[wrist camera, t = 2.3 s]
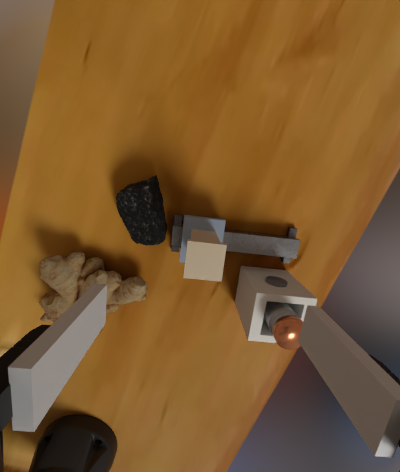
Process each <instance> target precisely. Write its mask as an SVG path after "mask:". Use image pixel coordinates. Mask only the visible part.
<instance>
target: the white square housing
mask: <svg viewBox="0 0 400 472" xmlns="http://www.w3.org/2000/svg"><path fill="white" fill-rule="evenodd" d="M267 301H271V302H281V303H288V304H289V305H290V306H291V307H292V309H293V310H294V311H295V312H296V314H297V315H298V316H299V317H300V319H301V320H302V321H304V317H305V313H306V309H307V305H310V306H316V303H317V298H316V297H315V296H314V295H313V294H312V293H311V292H309V291H308V290H307V289H306V288H305V287H304V286H303V285H302V284H301V283H300V282H299V281H297V280H296V279H295V278H294V277H293V276H292V275H291V274H290V273H289V272H288V271H286V270H279V269H269V268H260V267H250V266H241V268H240V274H239V280H238V286H237V292H236V298H235V305H236V307H237V310H238V313H239V316H240V319H241V322H242V325H243V328H244V331H245V333H246V336H247V339H248V341H260V342H271V343H277V342H276V340H275V338H274V336H273V335H272V333H271V331H270V329H269V327H268V325H267V323H266V321H265V319H264V313H265V308H266V303H267Z"/></svg>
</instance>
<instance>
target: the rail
mask: <svg viewBox="0 0 400 472" xmlns="http://www.w3.org/2000/svg"><path fill="white" fill-rule="evenodd" d="M182 217H183V215H176V214H175V218H174V225H173V231H172V242H171V245H172V251H174V252H179V246H181V243H182V233H183V224H182ZM296 233H297V229H296V228H290V227H288V231H287V236H282V235H273V234H264V233H255V232H246V231H237V230H228V229H224V236H223V243H226V244H227V248H226V251H231V252H241V253H250V254H259V255H269V256H278V257H282V260H281V262H282V263H288V264H290V261H291V258H297V253H298V249H299V244H300V240H299V239H297V238H296Z"/></svg>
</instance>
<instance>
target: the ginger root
mask: <svg viewBox="0 0 400 472" xmlns="http://www.w3.org/2000/svg"><path fill="white" fill-rule="evenodd" d="M104 270H105V268H104V262H103V260H102V259H100V258H98V257H93V258H90V259H87V260H85V255H84V253H82V252H74V253H71V254H70V255H68V256H67V257H64V256H62V255H56V256H54V257H47V258H45V259H43V260H41V262H40V272H41V275H40V278H41V279H42V280H43V281H45V282H46V283H47V284H48V285H49V286H50V287H51V289H53V290H52V292H49V293H46V294H45V296H44V297H42V299H41V301H40V302H39V304H40V305H41V306H42V308H43V309H44V311H45V312H46V313H44V315H43V316H42V317H41V318H40V319H41V321H53V322H55V321H56V320H57V319H58V318H59V317H60V316H61V315H62V314H63V313H64V312H65V311H66V310H68V309H69V308H70V307H71V306H72V305H73V304H74V303H75V302H76V301H77V300H78V299H79V298H80V297H81V296H82V295H83V294H84V293H85V292H86V291H87V290H88V289H89V288H90V287H91V286H92V285H93V284H94V283H98V284H107V299H106V313H109V312H115V311H116V310H117V309H118V308H119V304H129V303H131V302H132V301H142V300H145V299H146V293H147V283H146V282H145V281H144V280H143V279H142V278H140V277H137V276H135V277H130V278H128V279H126V280H123V281H122V277H121V275H120V274H118V273H116V272H115V271H104ZM102 330H103V329H101V331H102ZM101 331H100V332H101ZM100 332H99V333H100Z"/></svg>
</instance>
